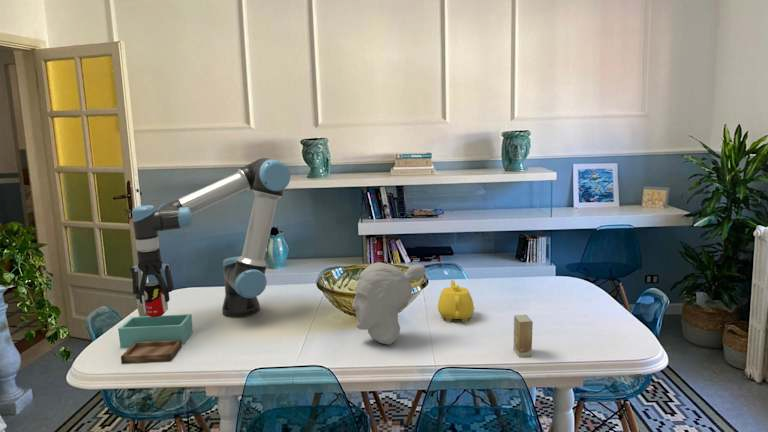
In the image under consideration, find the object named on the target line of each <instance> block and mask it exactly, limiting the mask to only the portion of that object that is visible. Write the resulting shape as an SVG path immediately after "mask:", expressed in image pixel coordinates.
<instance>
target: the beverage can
mask: <svg viewBox="0 0 768 432" xmlns="http://www.w3.org/2000/svg"><path fill="white" fill-rule="evenodd" d="M162 294H163V291H162V289H161V287H160V285H159V283H158V280H153V281H147V282H146V284H145V288H144V295H145V302H146V310H147V315H149V316H150V317H159V316H162V315H165V313H166V312H164V310H163V302H162Z"/></svg>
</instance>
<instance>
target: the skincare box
mask: <svg viewBox="0 0 768 432" xmlns="http://www.w3.org/2000/svg"><path fill="white" fill-rule="evenodd" d="M533 323H534V322H533V320H532V319H531V318H530V317H529V316H528V314H517V315H516V314H515V315H514V317H513V351H514V352H515V354H516V355H517V356H518V357H519V358H527V357H532V354H533V353H532V351H533Z"/></svg>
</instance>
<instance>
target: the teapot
mask: <svg viewBox="0 0 768 432" xmlns="http://www.w3.org/2000/svg"><path fill="white" fill-rule="evenodd" d="M437 309H438V312H439V315H440V316H441V317H442V318H445V322H449V323H450V322H453V320H455V319H456V320H457V319H458V320H461V321H462V322H468V321H469V319H468V318H472V316H473V314H474V311H475V308H474V301H473V298H472V296H471V294H470V292H469V290H468V288H466V287H462V286H460V285H456V282H455V280H454V279H451V280H450V287H445V288H443V289H442V291H441V293H440V295H439V298H438V304H437Z"/></svg>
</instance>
